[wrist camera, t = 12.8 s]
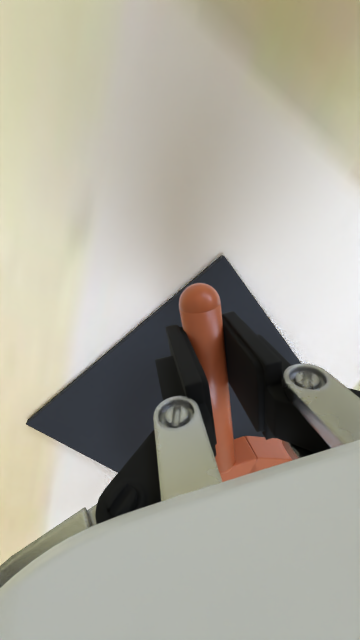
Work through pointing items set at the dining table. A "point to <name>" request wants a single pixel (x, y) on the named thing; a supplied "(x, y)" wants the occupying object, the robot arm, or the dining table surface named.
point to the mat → (144, 379)
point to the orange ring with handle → (223, 386)
